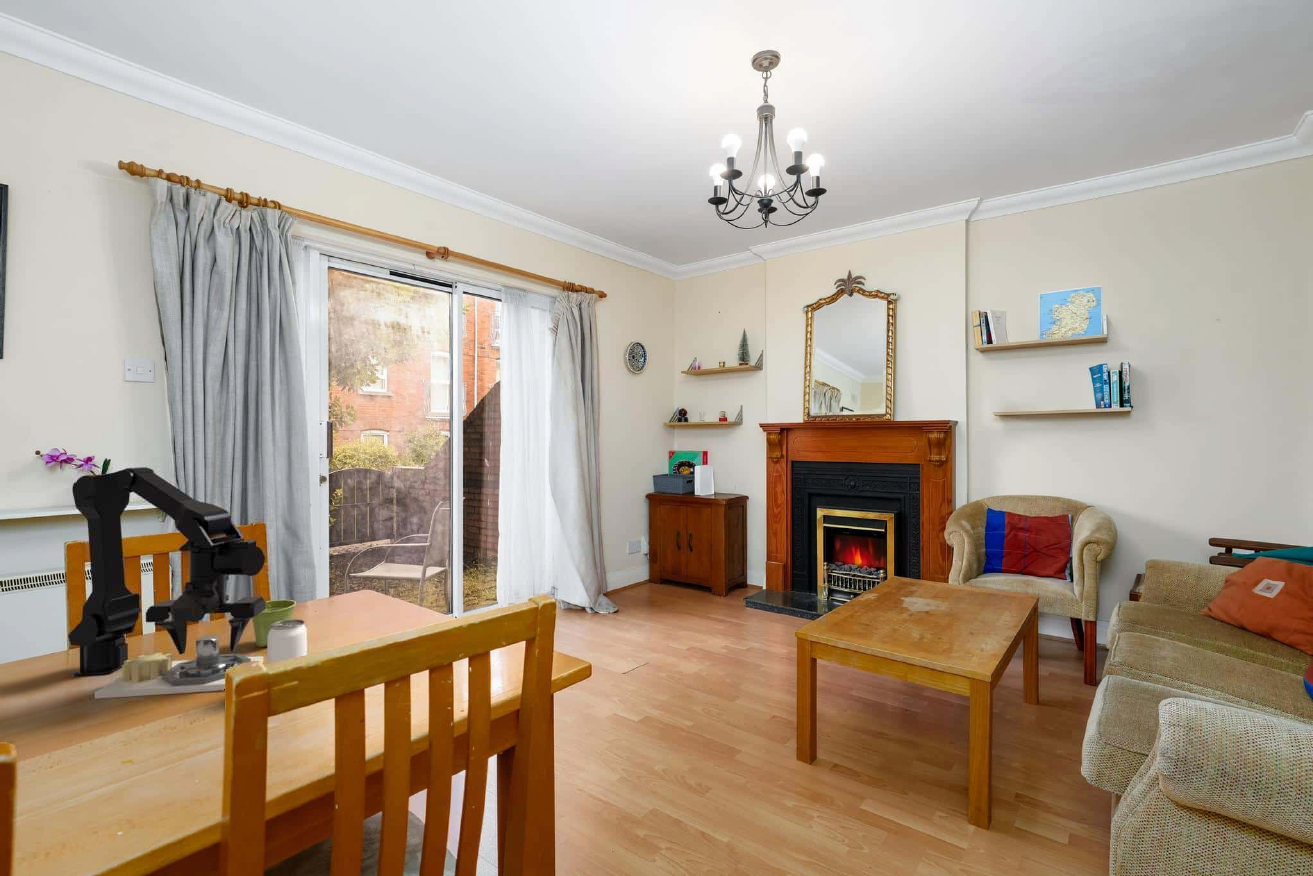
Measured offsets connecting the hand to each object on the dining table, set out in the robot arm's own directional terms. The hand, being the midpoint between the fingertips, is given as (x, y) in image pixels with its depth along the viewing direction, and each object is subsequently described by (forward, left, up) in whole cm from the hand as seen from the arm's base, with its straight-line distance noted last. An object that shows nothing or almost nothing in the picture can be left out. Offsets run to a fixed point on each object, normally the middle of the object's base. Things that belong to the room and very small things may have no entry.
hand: (207, 652), depth 120 cm
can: (+17, -7, -5) cm, 19 cm away
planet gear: (0, 0, -4) cm, 4 cm away
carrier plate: (-4, 0, -5) cm, 6 cm away
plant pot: (+4, +19, -5) cm, 20 cm away
